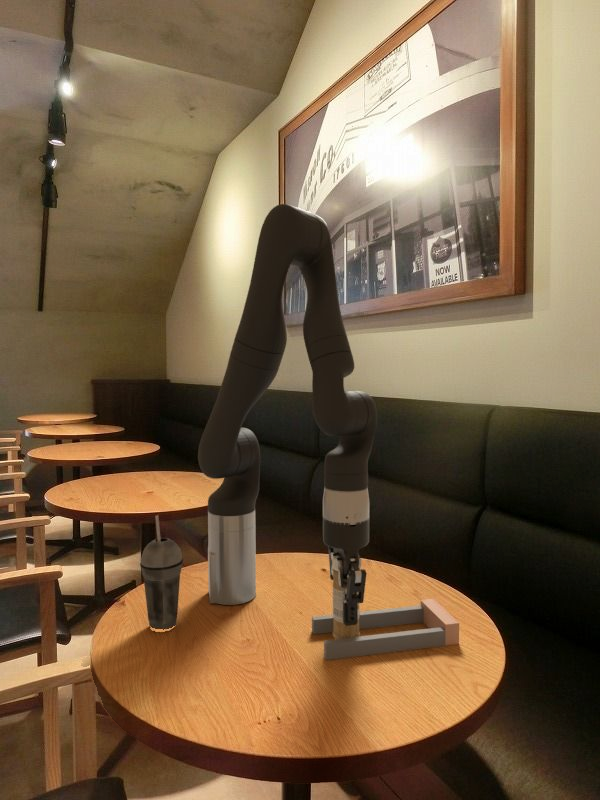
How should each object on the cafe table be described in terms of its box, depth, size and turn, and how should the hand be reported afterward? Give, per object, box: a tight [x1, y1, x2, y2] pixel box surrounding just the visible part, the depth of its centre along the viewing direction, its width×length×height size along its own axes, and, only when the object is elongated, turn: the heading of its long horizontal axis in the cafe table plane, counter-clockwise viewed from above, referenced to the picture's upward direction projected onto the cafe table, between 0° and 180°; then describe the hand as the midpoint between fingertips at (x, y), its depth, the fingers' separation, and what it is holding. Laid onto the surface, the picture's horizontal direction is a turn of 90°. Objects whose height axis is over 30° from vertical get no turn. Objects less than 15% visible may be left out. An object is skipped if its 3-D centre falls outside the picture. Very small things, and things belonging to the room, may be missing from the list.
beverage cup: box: [139, 514, 184, 630], centre depth 93 cm, size 7×7×20 cm
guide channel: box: [311, 598, 460, 661], centre depth 89 cm, size 22×9×4 cm, turn 102°
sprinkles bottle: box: [332, 556, 361, 639], centre depth 88 cm, size 5×5×13 cm
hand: (345, 616), depth 88 cm, fingers closed on sprinkles bottle, 4 cm apart
